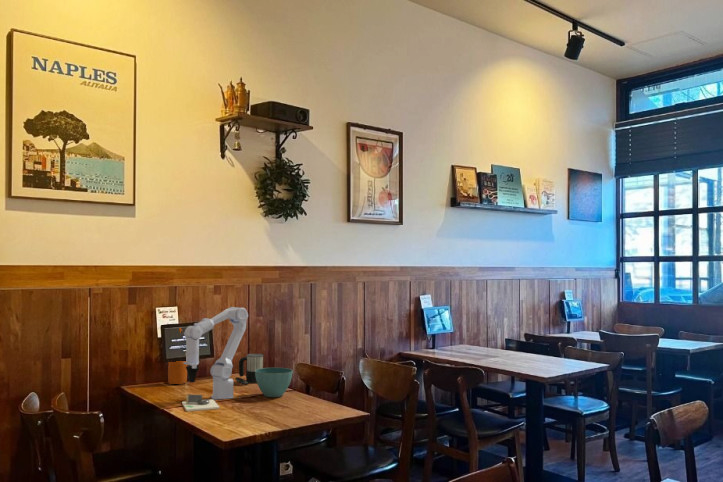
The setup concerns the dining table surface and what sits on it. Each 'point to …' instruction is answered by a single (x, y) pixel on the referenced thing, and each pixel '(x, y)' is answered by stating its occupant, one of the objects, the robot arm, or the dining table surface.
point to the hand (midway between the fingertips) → (191, 382)
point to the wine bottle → (177, 371)
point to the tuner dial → (196, 399)
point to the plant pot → (273, 380)
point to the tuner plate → (200, 406)
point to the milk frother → (250, 368)
